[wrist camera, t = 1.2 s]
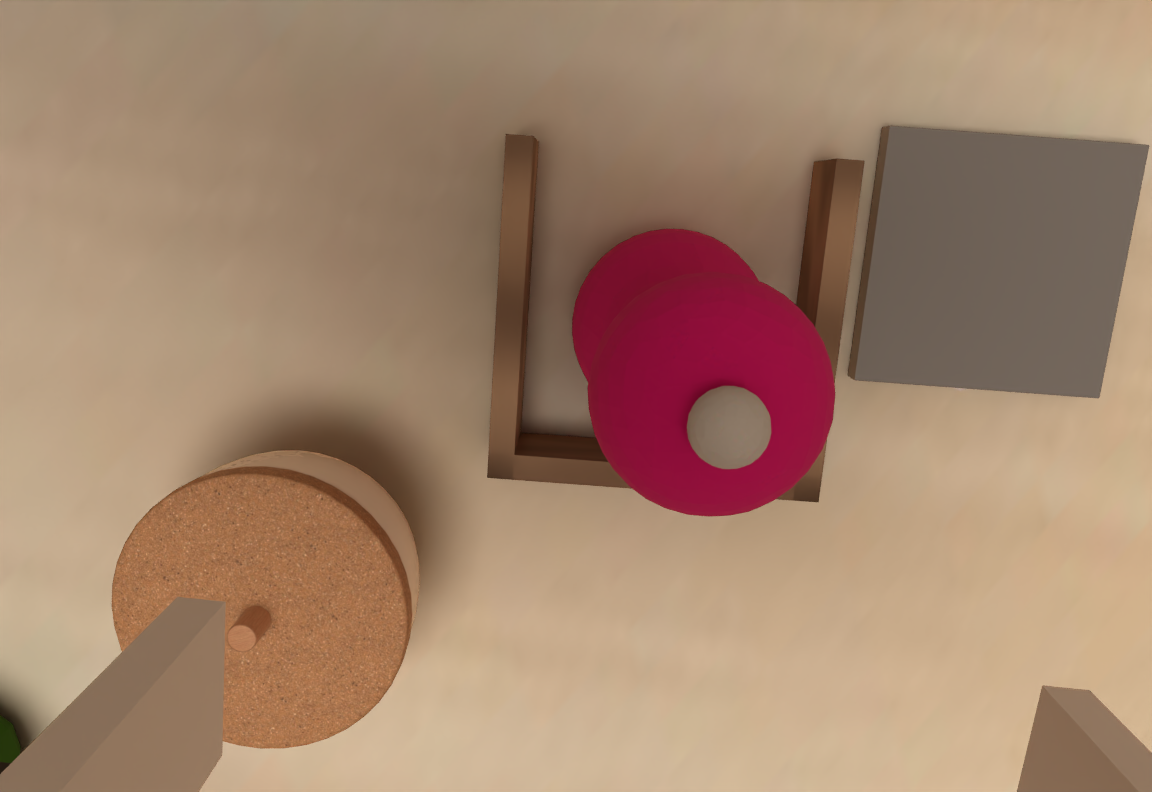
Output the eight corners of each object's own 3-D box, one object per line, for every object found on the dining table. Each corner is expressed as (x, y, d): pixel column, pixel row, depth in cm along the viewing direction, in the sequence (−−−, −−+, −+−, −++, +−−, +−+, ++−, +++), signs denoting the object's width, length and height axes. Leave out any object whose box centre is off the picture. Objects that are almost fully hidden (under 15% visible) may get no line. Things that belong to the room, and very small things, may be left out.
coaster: (882, 127, 37) (889, 125, 36) (1134, 146, 37) (1149, 144, 36) (847, 375, 39) (854, 380, 38) (1086, 393, 39) (1099, 398, 38)
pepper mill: (572, 226, 38) (552, 261, 18) (750, 223, 37) (925, 255, 18) (575, 400, 39) (560, 605, 20) (747, 397, 39) (904, 601, 19)
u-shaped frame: (513, 139, 37) (505, 134, 33) (839, 163, 37) (864, 160, 33) (496, 453, 40) (487, 477, 36) (798, 475, 40) (818, 502, 36)
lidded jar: (164, 453, 40) (37, 530, 31) (402, 393, 39) (344, 454, 30) (244, 674, 42) (147, 807, 33) (471, 621, 41) (436, 742, 32)
